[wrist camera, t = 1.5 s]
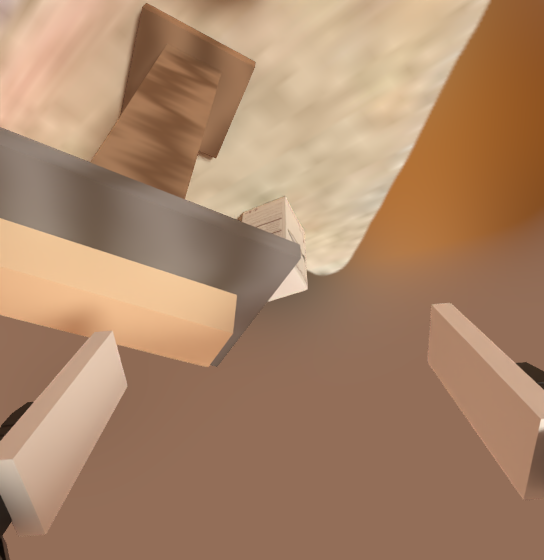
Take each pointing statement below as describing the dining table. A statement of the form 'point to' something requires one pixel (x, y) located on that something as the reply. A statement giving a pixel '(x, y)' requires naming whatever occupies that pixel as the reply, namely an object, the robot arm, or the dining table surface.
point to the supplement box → (286, 225)
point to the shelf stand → (155, 174)
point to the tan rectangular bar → (110, 297)
